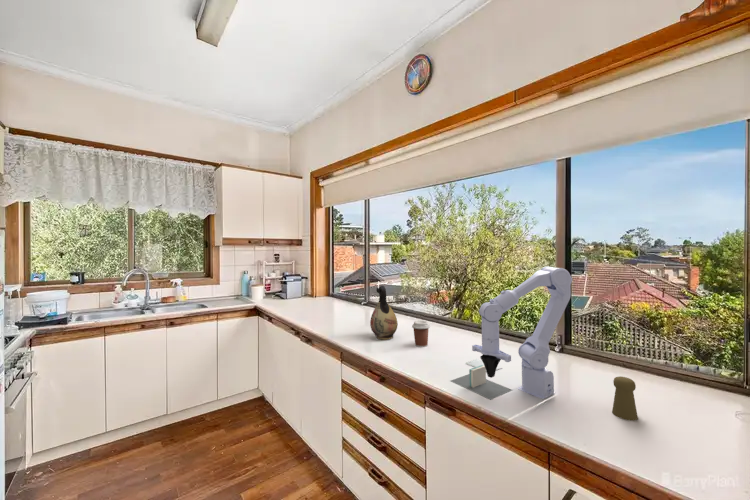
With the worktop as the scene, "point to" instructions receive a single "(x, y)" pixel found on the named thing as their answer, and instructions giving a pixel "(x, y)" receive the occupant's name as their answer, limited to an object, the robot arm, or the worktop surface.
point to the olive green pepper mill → (624, 399)
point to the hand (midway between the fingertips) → (491, 376)
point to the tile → (477, 376)
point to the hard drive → (478, 363)
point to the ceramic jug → (383, 318)
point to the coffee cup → (421, 333)
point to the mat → (482, 387)
